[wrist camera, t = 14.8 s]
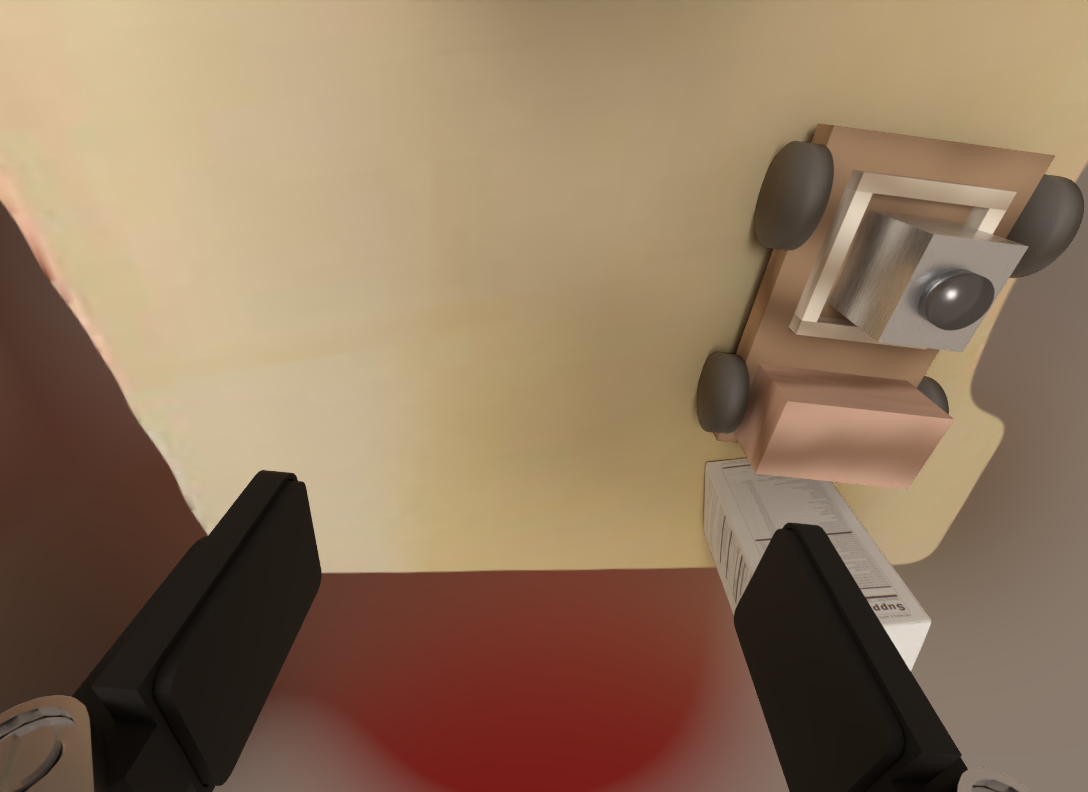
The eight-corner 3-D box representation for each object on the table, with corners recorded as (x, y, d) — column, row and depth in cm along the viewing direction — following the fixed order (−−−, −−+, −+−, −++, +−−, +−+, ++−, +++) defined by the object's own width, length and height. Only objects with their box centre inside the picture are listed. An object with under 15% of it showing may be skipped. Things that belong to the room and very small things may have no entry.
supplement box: (701, 532, 49) (760, 712, 35) (703, 460, 45) (772, 635, 30) (800, 523, 49) (903, 704, 34) (813, 449, 44) (939, 623, 29)
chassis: (783, 119, 31) (854, 128, 23) (1030, 152, 31) (1173, 171, 24) (688, 413, 42) (715, 480, 35) (869, 433, 43) (934, 503, 36)
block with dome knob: (869, 209, 30) (947, 239, 24) (948, 220, 30) (1045, 251, 24) (827, 303, 33) (887, 350, 27) (899, 311, 33) (974, 360, 27)
